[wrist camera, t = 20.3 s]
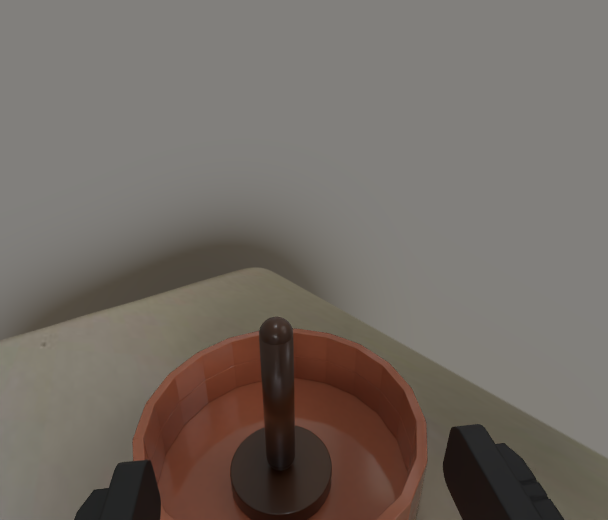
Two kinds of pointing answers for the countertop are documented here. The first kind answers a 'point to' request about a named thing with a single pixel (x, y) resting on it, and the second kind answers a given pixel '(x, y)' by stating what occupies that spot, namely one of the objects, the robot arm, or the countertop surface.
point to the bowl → (308, 414)
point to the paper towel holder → (280, 443)
